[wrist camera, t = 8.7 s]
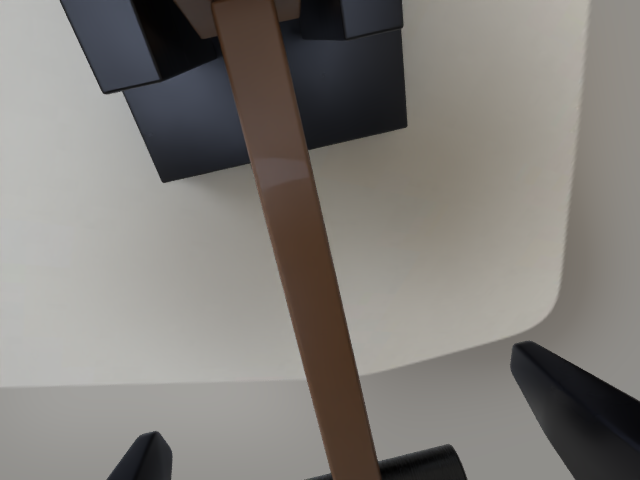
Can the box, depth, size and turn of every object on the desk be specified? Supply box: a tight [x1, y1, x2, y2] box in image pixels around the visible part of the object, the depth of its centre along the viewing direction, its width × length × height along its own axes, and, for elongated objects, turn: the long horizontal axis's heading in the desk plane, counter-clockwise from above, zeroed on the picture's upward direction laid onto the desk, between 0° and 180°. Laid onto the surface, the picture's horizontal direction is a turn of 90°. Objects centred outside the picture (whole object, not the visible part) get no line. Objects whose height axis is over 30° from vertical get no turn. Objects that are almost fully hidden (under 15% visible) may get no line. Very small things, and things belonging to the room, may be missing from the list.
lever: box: [173, 0, 467, 480], centre depth 8 cm, size 14×5×2 cm, turn 12°
